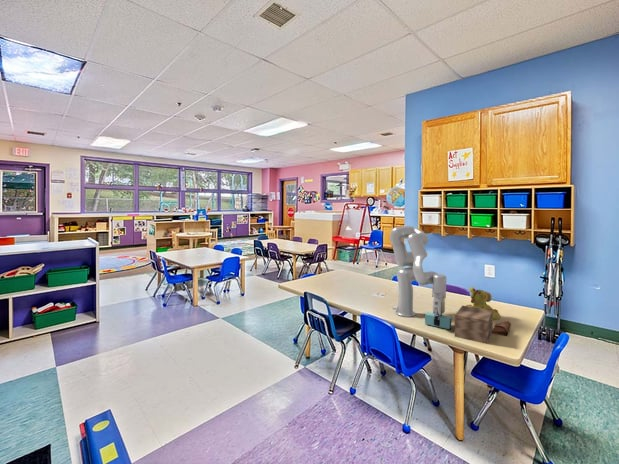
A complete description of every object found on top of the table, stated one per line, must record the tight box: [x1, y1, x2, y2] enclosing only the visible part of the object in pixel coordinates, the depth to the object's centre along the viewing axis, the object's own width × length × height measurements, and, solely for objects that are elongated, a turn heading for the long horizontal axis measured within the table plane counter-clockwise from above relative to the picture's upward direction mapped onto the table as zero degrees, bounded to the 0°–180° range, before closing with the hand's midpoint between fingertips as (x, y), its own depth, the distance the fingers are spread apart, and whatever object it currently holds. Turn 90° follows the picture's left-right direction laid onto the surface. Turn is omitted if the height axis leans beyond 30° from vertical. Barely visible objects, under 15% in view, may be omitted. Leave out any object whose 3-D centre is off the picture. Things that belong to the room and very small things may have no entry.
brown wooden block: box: [454, 305, 494, 345], centre depth 172 cm, size 16×20×12 cm
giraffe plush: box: [465, 286, 501, 320], centre depth 199 cm, size 20×24×19 cm
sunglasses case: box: [491, 320, 512, 337], centre depth 178 cm, size 18×7×7 cm
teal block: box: [424, 311, 453, 330], centre depth 184 cm, size 14×5×6 cm, turn 54°
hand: (437, 323), depth 184 cm, fingers closed on teal block, 5 cm apart
